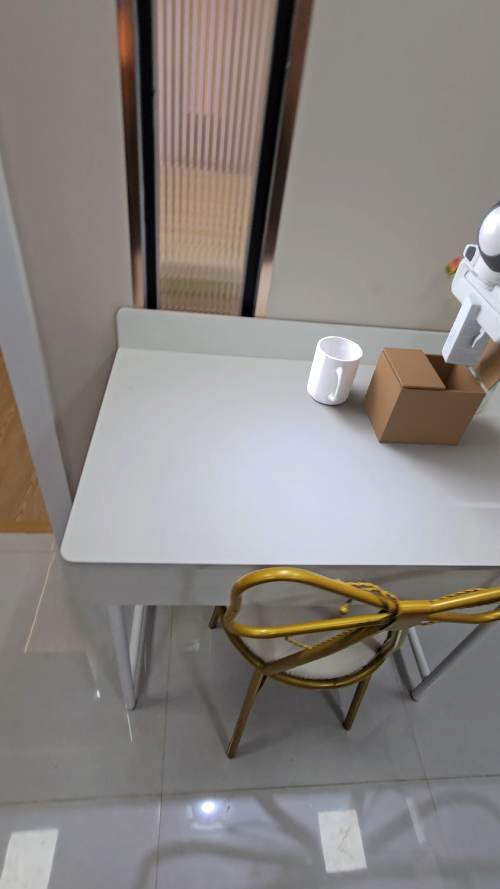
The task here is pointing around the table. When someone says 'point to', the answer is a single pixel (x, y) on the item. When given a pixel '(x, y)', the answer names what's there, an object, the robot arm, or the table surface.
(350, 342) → the mug
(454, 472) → the table surface
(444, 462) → the table surface
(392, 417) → the carton
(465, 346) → the cosmetic box
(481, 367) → the flap
